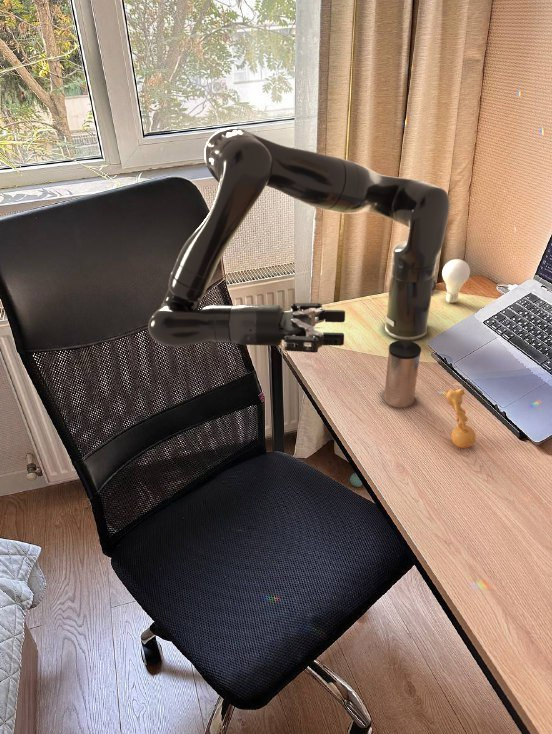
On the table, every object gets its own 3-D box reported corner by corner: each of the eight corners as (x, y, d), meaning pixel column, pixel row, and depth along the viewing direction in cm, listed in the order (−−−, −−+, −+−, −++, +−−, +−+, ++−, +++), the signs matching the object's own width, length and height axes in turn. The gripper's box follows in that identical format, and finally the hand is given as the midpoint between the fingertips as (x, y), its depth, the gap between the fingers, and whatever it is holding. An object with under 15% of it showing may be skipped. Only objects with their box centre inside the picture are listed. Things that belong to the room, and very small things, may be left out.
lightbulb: (469, 301, 145) (476, 259, 139) (456, 310, 141) (464, 267, 135) (445, 294, 149) (452, 253, 142) (433, 303, 145) (439, 261, 139)
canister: (383, 389, 117) (388, 339, 110) (412, 391, 116) (419, 340, 109) (384, 407, 112) (389, 356, 105) (415, 408, 111) (422, 357, 104)
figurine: (478, 461, 99) (491, 404, 92) (441, 460, 99) (452, 403, 92) (468, 430, 105) (480, 375, 98) (434, 429, 106) (443, 374, 99)
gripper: (250, 325, 101) (344, 328, 98) (260, 289, 112) (346, 291, 110) (252, 362, 105) (343, 365, 103) (262, 324, 117) (344, 326, 114)
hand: (344, 327), depth 106 cm, fingers open, 8 cm apart
